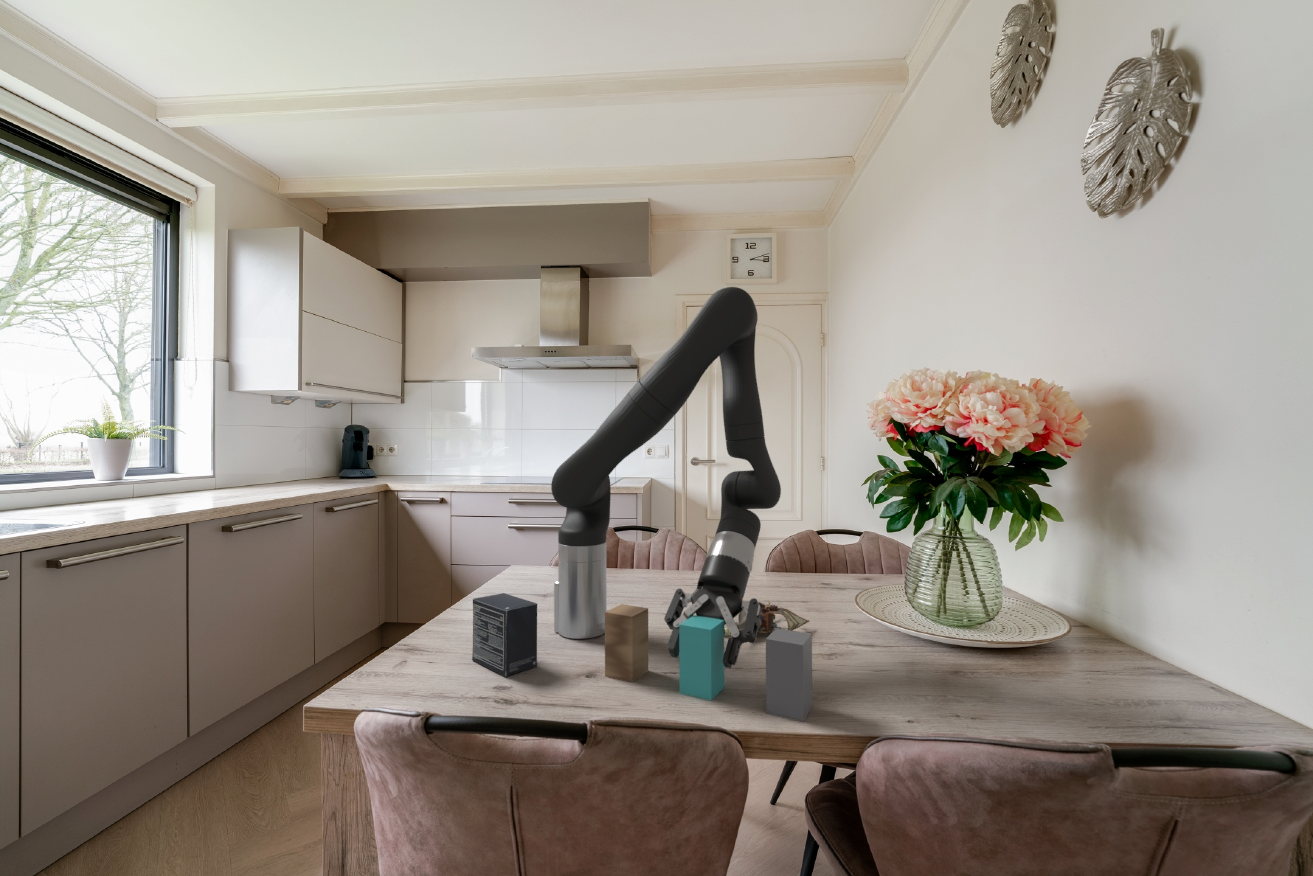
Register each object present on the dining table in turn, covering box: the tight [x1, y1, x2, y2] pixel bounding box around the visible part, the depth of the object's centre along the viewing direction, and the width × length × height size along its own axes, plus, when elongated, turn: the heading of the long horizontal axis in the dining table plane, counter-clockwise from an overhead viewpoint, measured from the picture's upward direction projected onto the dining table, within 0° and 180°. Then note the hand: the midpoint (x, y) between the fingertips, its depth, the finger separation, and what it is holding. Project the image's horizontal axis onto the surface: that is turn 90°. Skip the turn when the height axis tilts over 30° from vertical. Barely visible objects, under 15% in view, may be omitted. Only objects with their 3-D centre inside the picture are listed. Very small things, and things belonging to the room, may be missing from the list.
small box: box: [471, 592, 538, 678], centre depth 95 cm, size 11×6×10 cm, turn 47°
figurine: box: [724, 600, 810, 637], centre depth 110 cm, size 20×6×17 cm
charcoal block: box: [765, 627, 813, 722], centre depth 78 cm, size 5×5×10 cm
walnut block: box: [604, 603, 649, 683], centre depth 90 cm, size 5×5×10 cm
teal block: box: [678, 614, 725, 701], centre depth 84 cm, size 5×5×10 cm
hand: (699, 660), depth 83 cm, fingers open, 8 cm apart
